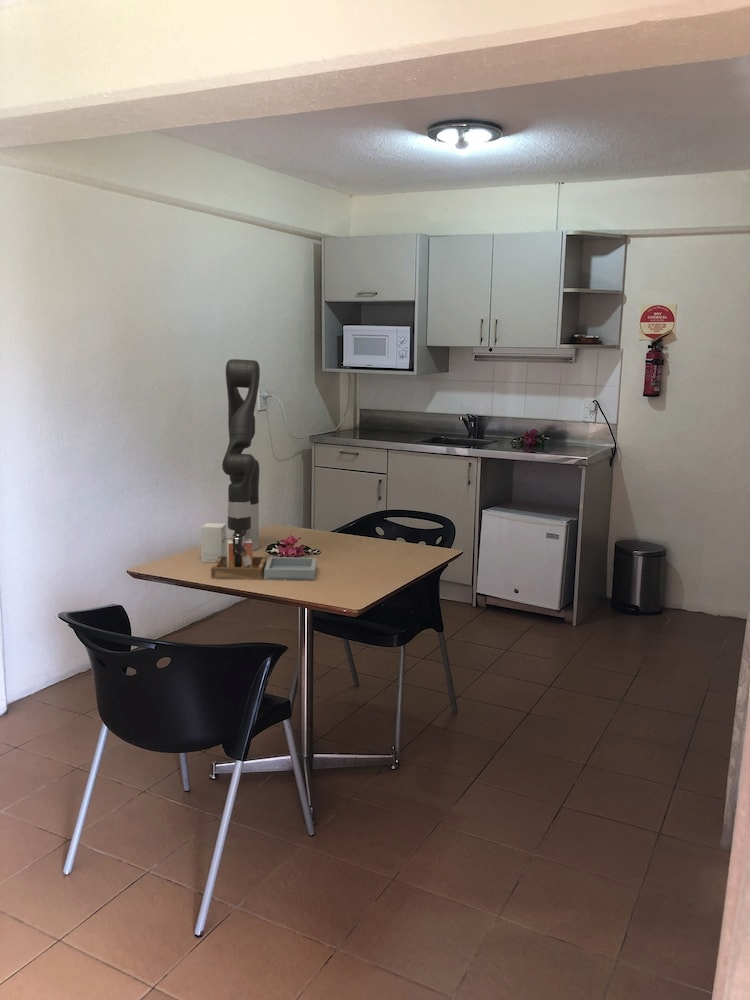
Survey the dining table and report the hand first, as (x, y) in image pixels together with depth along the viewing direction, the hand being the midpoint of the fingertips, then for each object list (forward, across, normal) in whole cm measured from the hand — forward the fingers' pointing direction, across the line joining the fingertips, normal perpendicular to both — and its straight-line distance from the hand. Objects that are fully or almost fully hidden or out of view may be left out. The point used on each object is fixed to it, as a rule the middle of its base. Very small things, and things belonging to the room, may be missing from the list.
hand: (239, 563), depth 274 cm
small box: (+3, 0, 0) cm, 3 cm away
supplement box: (+3, -16, -11) cm, 20 cm away
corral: (+3, 0, 0) cm, 3 cm away
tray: (+3, 0, +17) cm, 17 cm away
